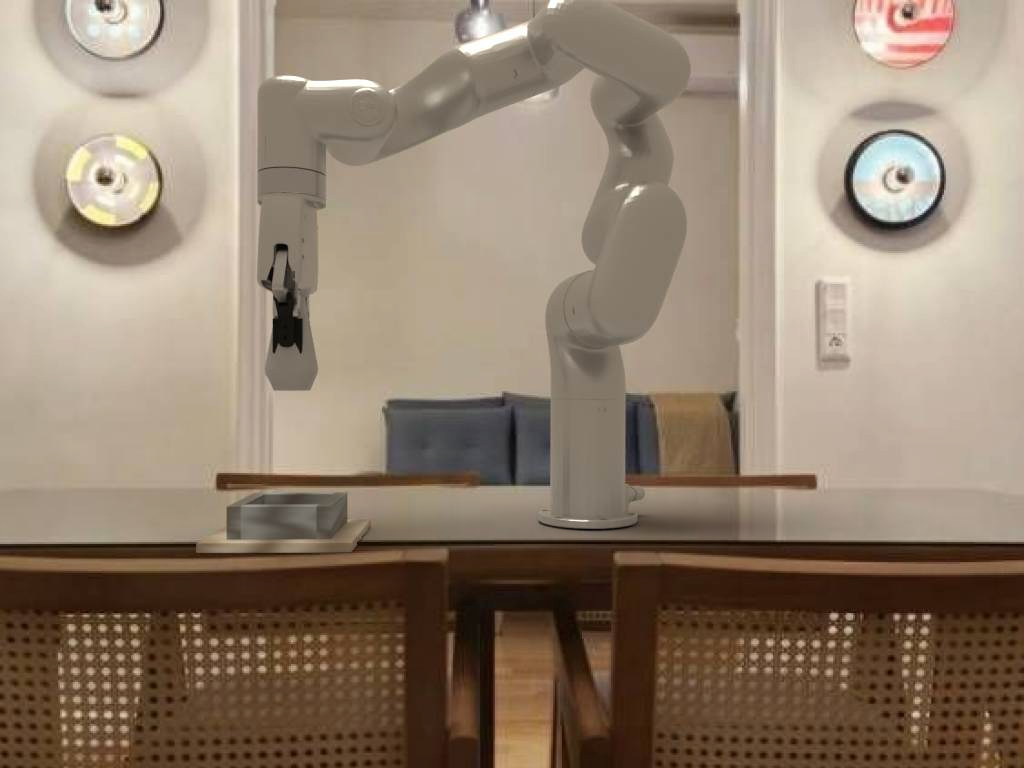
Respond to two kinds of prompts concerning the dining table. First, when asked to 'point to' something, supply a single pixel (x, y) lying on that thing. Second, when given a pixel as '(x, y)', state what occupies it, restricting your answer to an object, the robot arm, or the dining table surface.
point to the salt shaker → (293, 357)
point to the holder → (287, 525)
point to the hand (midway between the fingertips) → (291, 353)
